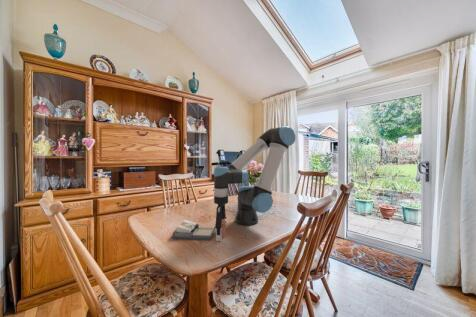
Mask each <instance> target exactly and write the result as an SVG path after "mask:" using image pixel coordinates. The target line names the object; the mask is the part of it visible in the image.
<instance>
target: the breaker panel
mask: <svg viewBox="0 0 476 317" xmlns="http://www.w3.org/2000/svg"><path fill="white" fill-rule="evenodd" d="M176 230H177V228H175V230H173V231H172V236H171V239H173V240H192V241H193V240H195V241H196V240H198V241H211V239H212V237H213V236H214V233H216V229H215V228H214V227H200V224H199V223H198V224H197V223H196V226H195V228H194V229H193V230H191V233H182V232H176Z"/></svg>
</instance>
